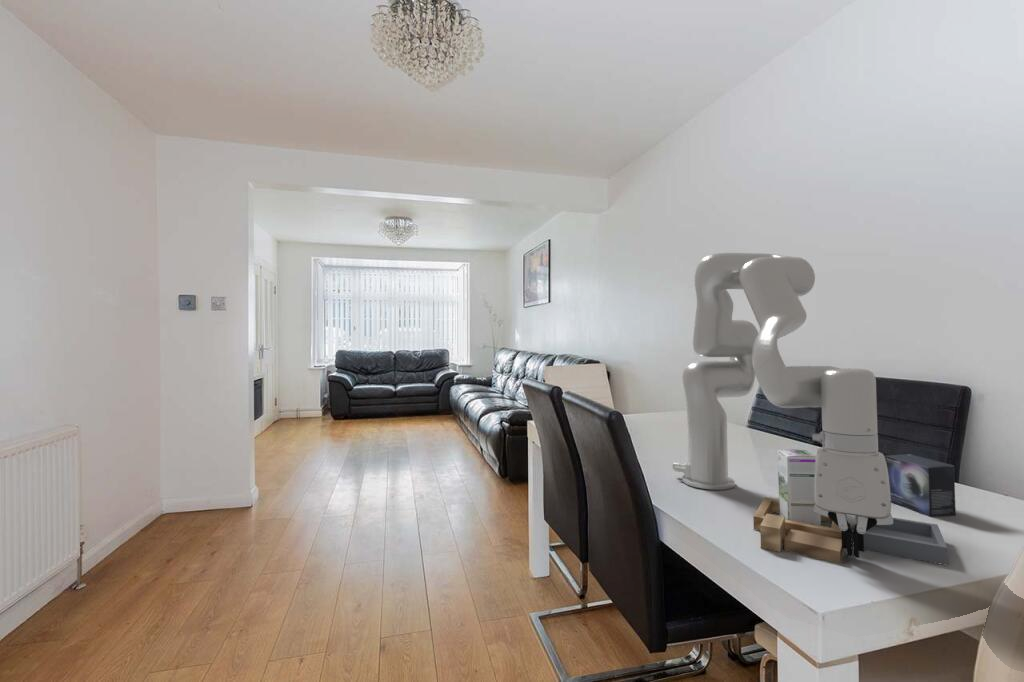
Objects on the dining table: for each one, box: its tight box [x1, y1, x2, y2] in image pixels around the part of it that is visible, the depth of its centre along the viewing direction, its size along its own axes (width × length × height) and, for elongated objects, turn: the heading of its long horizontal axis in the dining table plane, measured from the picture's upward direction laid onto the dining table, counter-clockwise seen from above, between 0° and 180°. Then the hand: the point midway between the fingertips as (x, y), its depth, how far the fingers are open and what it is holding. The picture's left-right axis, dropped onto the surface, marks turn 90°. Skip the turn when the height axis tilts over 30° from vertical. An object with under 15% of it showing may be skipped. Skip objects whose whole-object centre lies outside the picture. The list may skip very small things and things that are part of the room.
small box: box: [884, 453, 957, 518], centre depth 102 cm, size 11×6×10 cm, turn 5°
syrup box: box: [776, 448, 822, 526], centre depth 93 cm, size 6×6×14 cm
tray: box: [854, 515, 949, 566], centre depth 84 cm, size 12×12×3 cm
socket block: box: [752, 496, 842, 539], centre depth 93 cm, size 14×14×2 cm
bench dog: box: [759, 513, 786, 553], centre depth 85 cm, size 3×7×4 cm, turn 144°
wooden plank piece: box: [783, 529, 845, 564], centre depth 82 cm, size 8×6×2 cm
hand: (853, 553), depth 78 cm, fingers closed
